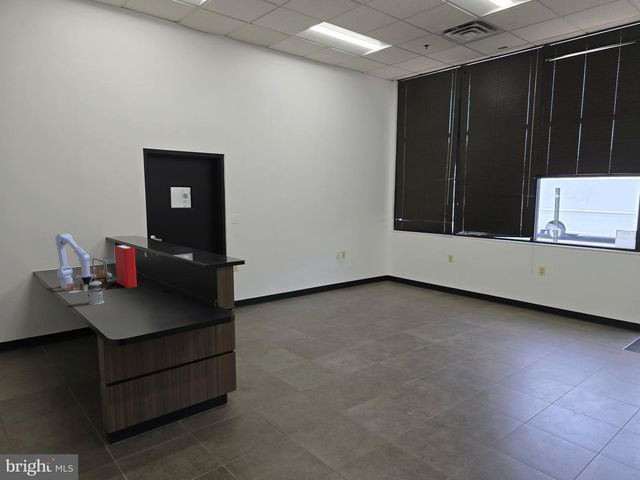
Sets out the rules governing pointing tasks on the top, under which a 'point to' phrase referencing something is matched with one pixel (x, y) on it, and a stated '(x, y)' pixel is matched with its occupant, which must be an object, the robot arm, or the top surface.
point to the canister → (69, 286)
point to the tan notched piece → (78, 287)
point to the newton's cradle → (104, 266)
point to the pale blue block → (85, 288)
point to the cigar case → (99, 276)
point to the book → (125, 265)
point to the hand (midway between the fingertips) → (87, 286)
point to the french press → (96, 293)
